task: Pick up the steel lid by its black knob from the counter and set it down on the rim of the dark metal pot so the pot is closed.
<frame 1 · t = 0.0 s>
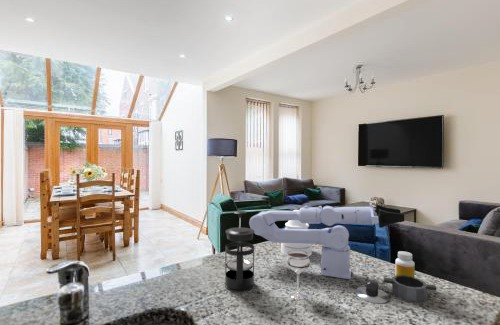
hand: (402, 215, 87), 22 cm above the worktop, tool horizontal, fingers open, 7 cm apart
pot: (408, 295, 80), on the worktop
french press: (239, 286, 85), on the worktop
lid: (371, 296, 80), on the worktop
wineglass: (297, 295, 80), on the worktop
supplement bottle: (404, 284, 87), on the worktop
honey pot: (296, 252, 116), on the worktop
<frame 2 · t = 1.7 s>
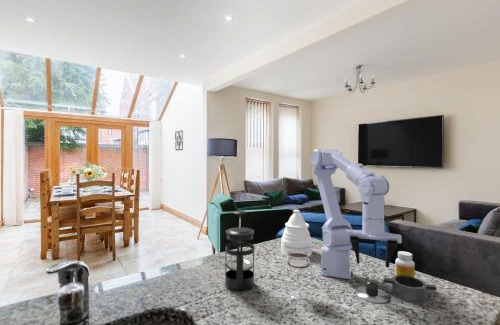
hand: (372, 264, 80), 9 cm above the worktop, tool pointing down, fingers open, 7 cm apart
nothing on the worktop moved.
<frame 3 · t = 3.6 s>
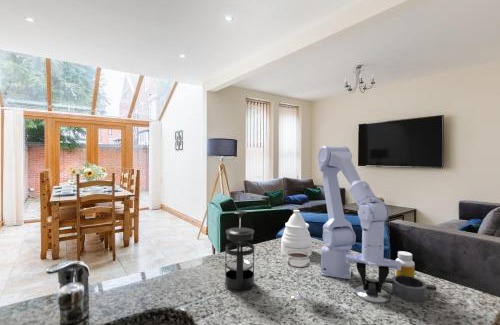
hand: (371, 290, 80), 1 cm above the worktop, tool pointing down, fingers closed on lid, 3 cm apart
lid: (371, 295, 80), on the worktop, touching gripper
everything else where it was.
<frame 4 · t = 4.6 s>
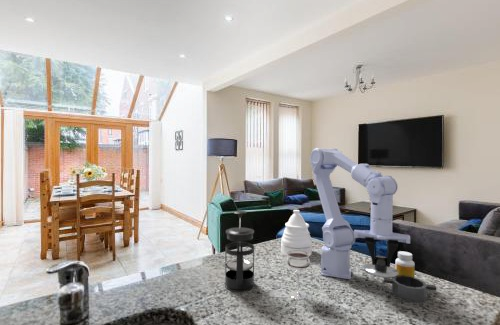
hand: (380, 264, 80), 9 cm above the worktop, tool pointing down, fingers closed on lid, 3 cm apart
lid: (380, 271, 79), point 7 cm above the worktop, touching gripper
everything else where it was.
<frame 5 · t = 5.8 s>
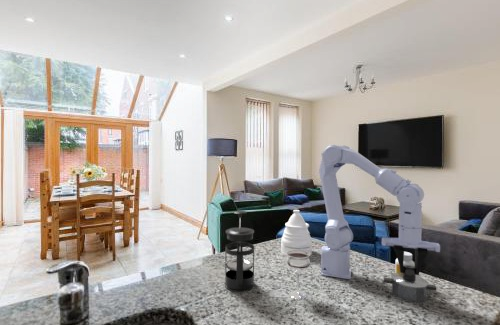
hand: (409, 272, 80), 7 cm above the worktop, tool pointing down, fingers closed on lid, 3 cm apart
lid: (409, 281, 80), point 4 cm above the worktop, touching gripper
everything else where it was.
when the fingers open (7 cm above the worktop, at t = 6.1 s): lid stays where it is, resting on pot.
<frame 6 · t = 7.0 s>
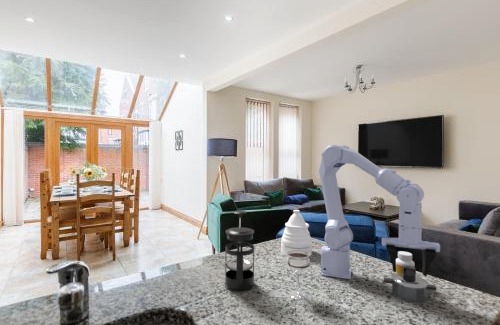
hand: (409, 272, 80), 7 cm above the worktop, tool pointing down, fingers open, 7 cm apart
lid: (409, 281, 80), point 4 cm above the worktop, touching pot
everything else where it was.
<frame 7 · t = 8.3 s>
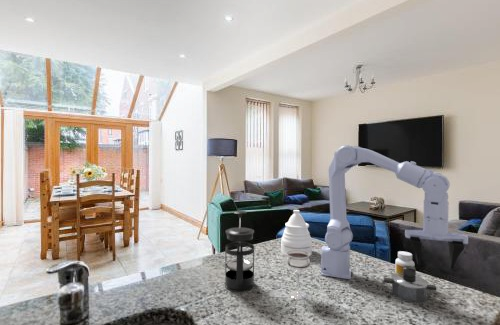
hand: (434, 265, 77), 10 cm above the worktop, tool pointing down, fingers open, 7 cm apart
nothing on the worktop moved.
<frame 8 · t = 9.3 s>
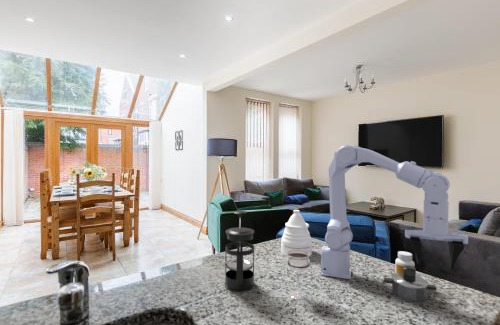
hand: (434, 265, 77), 10 cm above the worktop, tool pointing down, fingers open, 7 cm apart
nothing on the worktop moved.
at the end: lid 0.3 cm off-centre on the pot, point 4.0 cm above the pot's base; lid tilted 0°; the gripper is holding nothing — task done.
